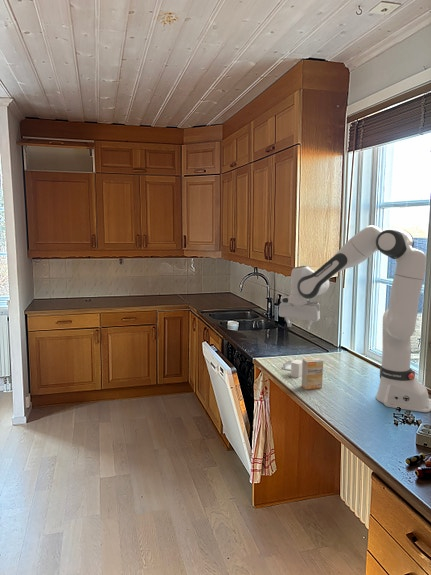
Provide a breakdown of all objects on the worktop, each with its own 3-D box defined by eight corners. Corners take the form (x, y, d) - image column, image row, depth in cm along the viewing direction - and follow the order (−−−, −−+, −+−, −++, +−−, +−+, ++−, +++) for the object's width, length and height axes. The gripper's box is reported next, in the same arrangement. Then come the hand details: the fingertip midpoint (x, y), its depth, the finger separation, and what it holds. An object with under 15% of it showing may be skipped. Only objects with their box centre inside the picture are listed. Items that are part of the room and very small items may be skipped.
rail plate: (303, 368, 230) (303, 363, 230) (297, 372, 224) (297, 367, 224) (288, 365, 235) (288, 360, 234) (282, 368, 229) (282, 364, 228)
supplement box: (306, 390, 200) (306, 362, 199) (301, 386, 205) (302, 358, 203) (322, 388, 203) (323, 360, 201) (317, 384, 207) (318, 357, 205)
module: (303, 374, 221) (304, 360, 220) (298, 378, 216) (299, 364, 215) (296, 373, 223) (296, 359, 222) (290, 376, 218) (291, 362, 217)
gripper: (322, 300, 211) (321, 329, 213) (283, 296, 222) (282, 323, 224) (317, 303, 206) (316, 332, 208) (277, 298, 217) (276, 326, 219)
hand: (298, 328), depth 216 cm, fingers open, 8 cm apart
